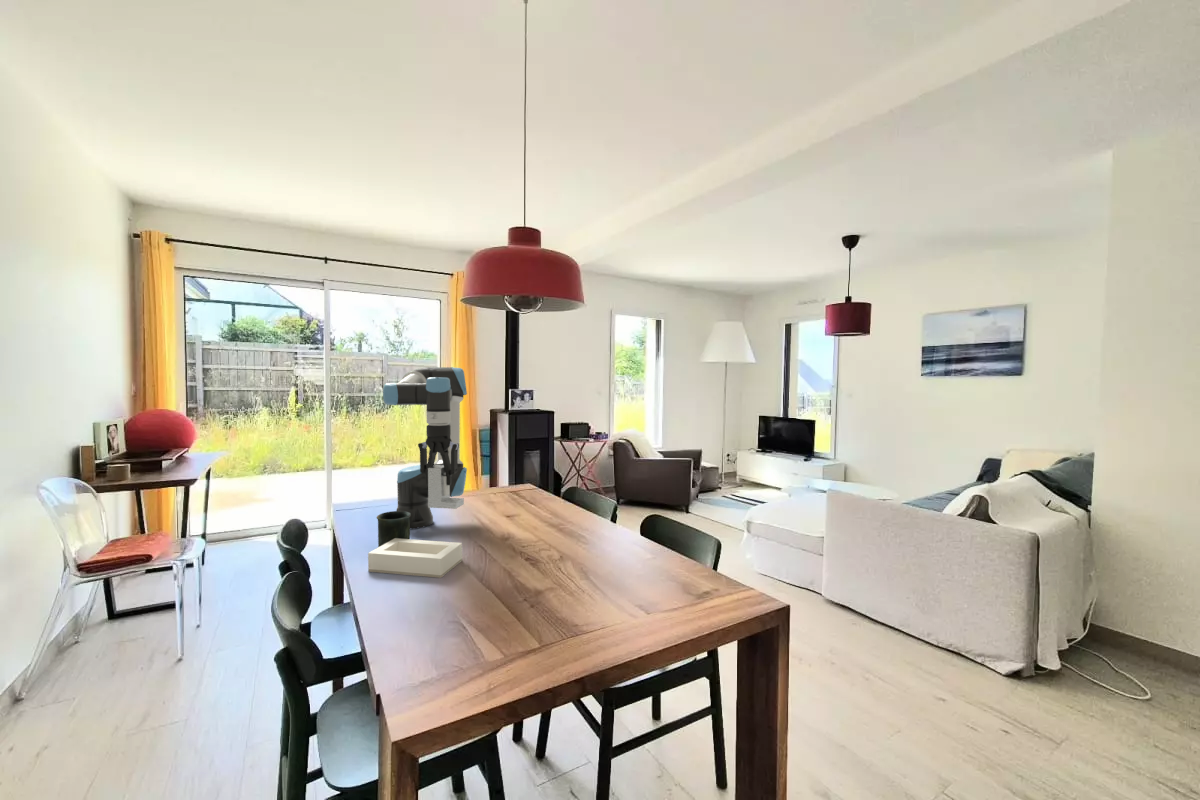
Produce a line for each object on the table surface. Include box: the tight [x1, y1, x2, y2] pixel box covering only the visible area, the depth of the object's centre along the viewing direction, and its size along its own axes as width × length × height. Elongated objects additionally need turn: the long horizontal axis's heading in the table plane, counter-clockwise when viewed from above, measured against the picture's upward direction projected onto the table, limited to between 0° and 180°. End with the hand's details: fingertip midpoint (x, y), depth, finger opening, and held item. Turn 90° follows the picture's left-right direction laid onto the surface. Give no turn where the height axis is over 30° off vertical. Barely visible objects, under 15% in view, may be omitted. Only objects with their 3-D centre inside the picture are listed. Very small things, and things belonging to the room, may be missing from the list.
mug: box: [376, 510, 411, 548], centre depth 170 cm, size 11×15×12 cm
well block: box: [367, 538, 463, 579], centre depth 155 cm, size 14×24×6 cm, turn 80°
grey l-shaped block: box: [428, 465, 465, 510], centre depth 161 cm, size 6×10×13 cm, turn 81°
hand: (439, 494), depth 162 cm, fingers closed on grey l-shaped block, 4 cm apart
